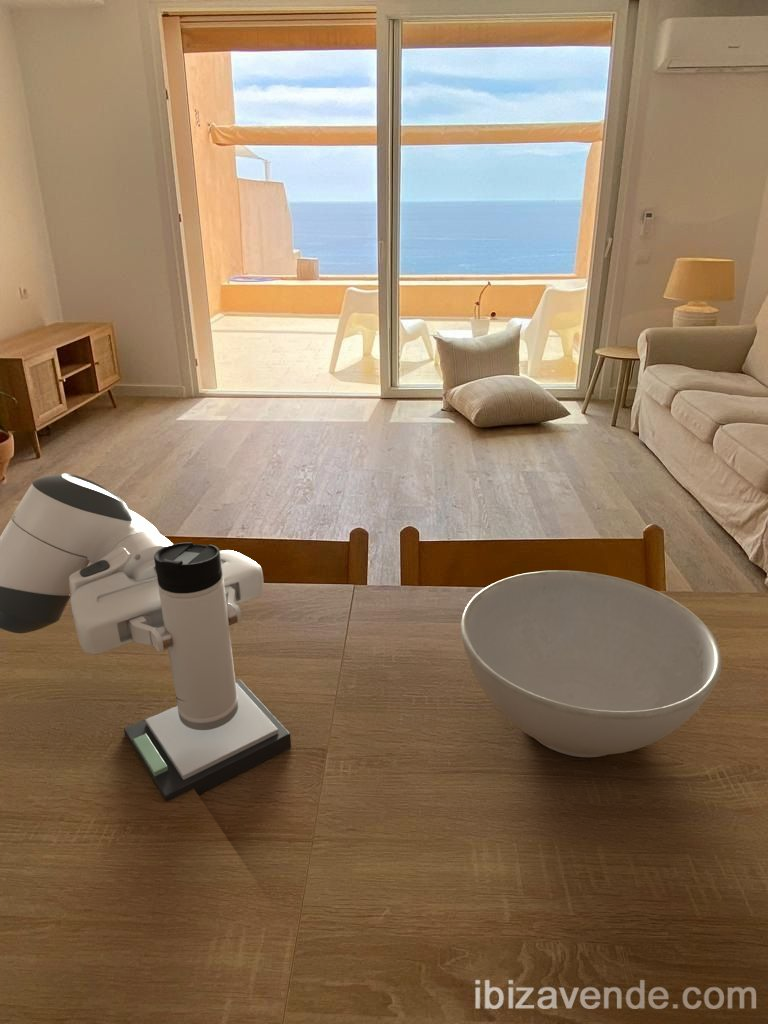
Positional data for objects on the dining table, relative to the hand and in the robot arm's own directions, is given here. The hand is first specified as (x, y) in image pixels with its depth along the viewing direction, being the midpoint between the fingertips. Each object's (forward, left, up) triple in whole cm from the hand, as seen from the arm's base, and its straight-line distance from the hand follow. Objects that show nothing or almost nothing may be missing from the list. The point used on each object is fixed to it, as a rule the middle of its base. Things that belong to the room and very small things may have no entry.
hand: (200, 630), depth 70 cm
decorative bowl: (+34, -21, -15) cm, 43 cm away
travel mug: (0, +1, -11) cm, 11 cm away
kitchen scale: (-1, +1, -15) cm, 15 cm away
